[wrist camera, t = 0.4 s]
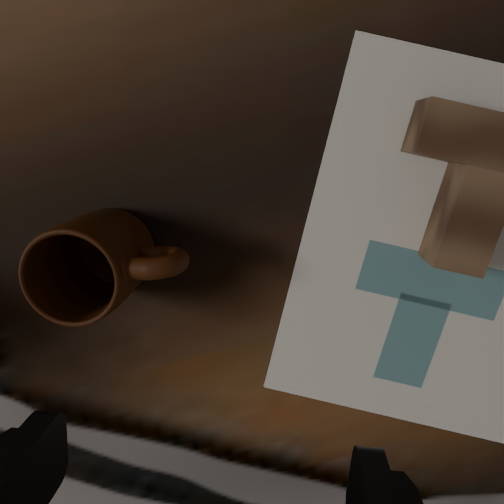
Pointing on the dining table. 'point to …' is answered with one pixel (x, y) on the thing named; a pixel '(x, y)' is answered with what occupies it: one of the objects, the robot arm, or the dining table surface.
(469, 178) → the t block
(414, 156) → the mat
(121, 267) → the mug
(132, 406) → the dining table surface
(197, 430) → the dining table surface
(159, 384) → the dining table surface
